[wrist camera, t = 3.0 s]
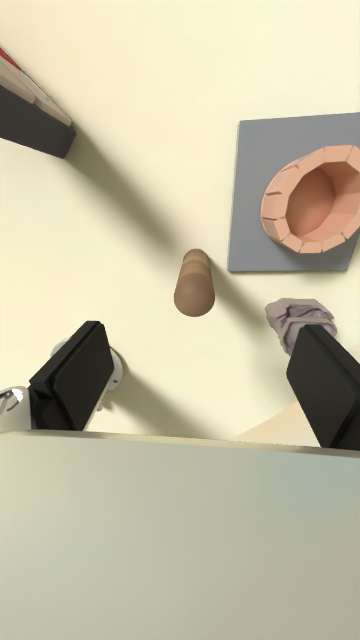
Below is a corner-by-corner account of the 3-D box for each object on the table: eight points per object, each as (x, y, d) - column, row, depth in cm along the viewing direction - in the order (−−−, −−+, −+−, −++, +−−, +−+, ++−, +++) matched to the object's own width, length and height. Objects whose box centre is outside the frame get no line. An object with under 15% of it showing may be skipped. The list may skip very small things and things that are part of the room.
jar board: (341, 267, 25) (374, 282, 20) (226, 269, 26) (232, 283, 22) (395, 113, 18) (466, 81, 14) (238, 124, 20) (251, 98, 15)
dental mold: (254, 333, 31) (263, 354, 27) (271, 291, 28) (285, 307, 23) (305, 342, 31) (323, 364, 27) (329, 301, 28) (353, 319, 23)
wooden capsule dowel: (207, 273, 27) (213, 316, 17) (183, 273, 27) (174, 316, 17) (208, 248, 25) (216, 278, 15) (183, 249, 26) (172, 279, 15)
